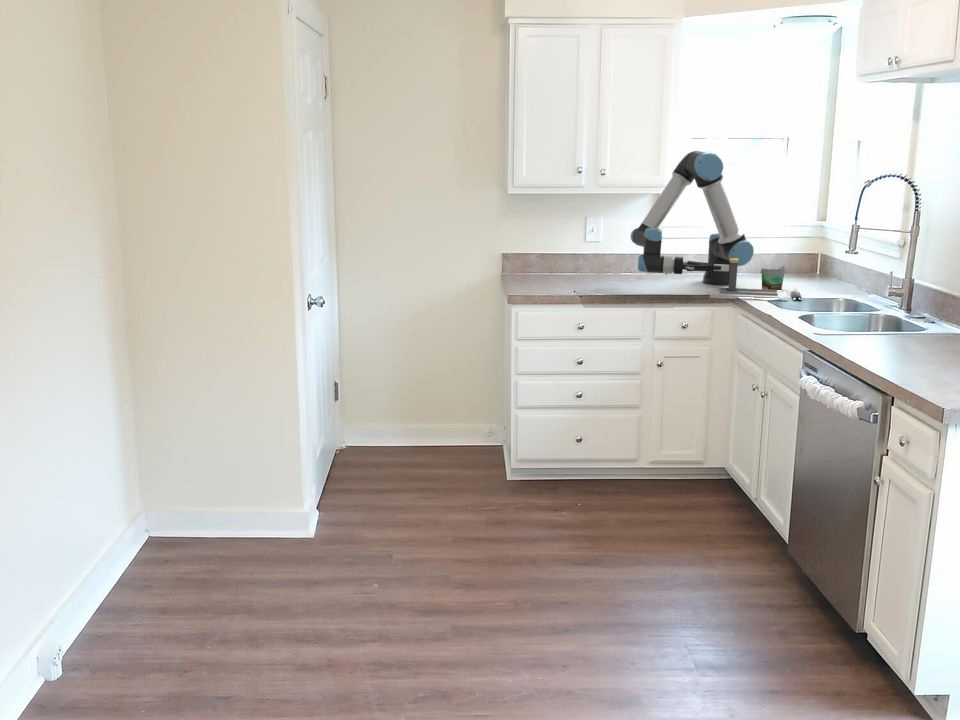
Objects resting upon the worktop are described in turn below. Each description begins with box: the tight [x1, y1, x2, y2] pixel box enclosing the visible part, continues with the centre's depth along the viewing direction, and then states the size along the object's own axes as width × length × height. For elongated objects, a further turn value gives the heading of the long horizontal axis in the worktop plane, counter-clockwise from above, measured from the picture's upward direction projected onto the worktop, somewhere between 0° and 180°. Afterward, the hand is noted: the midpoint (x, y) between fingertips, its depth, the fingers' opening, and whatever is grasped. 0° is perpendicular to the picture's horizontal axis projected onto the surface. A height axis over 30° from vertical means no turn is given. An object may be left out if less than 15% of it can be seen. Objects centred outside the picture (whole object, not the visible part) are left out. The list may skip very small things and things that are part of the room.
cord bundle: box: [790, 288, 802, 299], centre depth 378 cm, size 13×4×3 cm, turn 165°
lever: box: [725, 258, 739, 292], centre depth 382 cm, size 5×5×14 cm
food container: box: [760, 266, 787, 291], centre depth 392 cm, size 12×6×10 cm, turn 112°
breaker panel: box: [709, 287, 789, 300], centre depth 382 cm, size 14×32×2 cm, turn 75°
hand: (729, 268), depth 381 cm, fingers closed
